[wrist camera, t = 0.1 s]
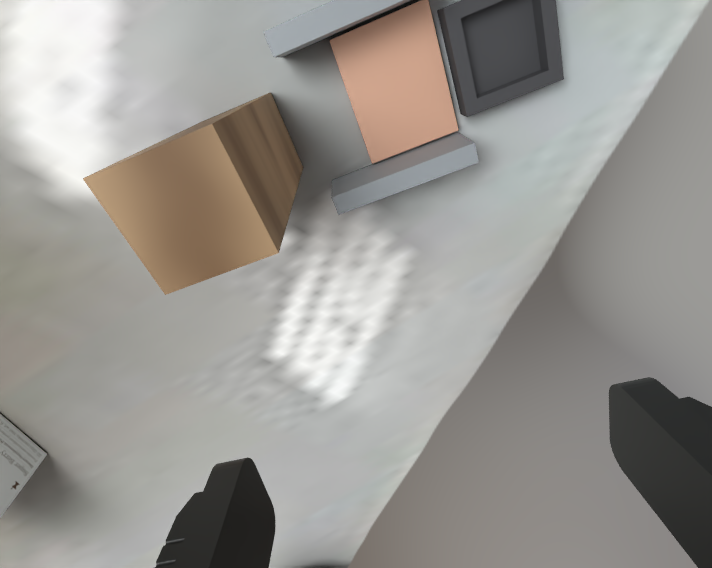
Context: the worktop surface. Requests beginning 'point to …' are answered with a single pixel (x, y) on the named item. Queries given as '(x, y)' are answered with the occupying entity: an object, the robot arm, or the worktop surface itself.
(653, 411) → the robot arm
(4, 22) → the worktop surface
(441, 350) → the worktop surface
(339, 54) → the grey cradle
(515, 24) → the trap pit
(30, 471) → the supplement box
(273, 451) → the worktop surface
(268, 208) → the walnut block
